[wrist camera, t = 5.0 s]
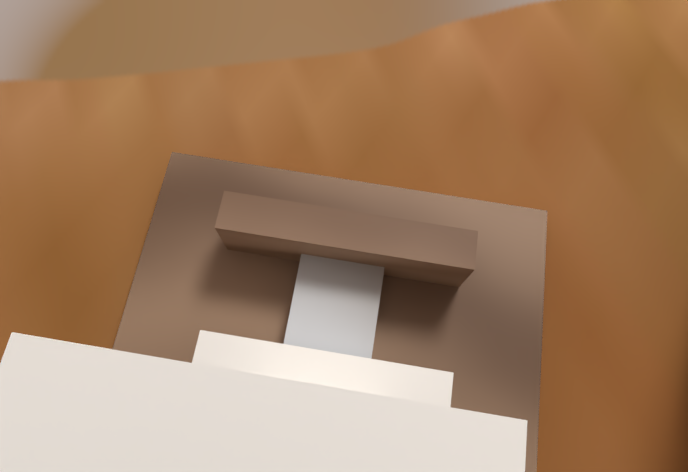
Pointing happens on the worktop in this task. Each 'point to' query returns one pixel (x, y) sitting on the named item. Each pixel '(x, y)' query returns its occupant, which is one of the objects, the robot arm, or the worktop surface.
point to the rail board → (346, 277)
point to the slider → (238, 412)
